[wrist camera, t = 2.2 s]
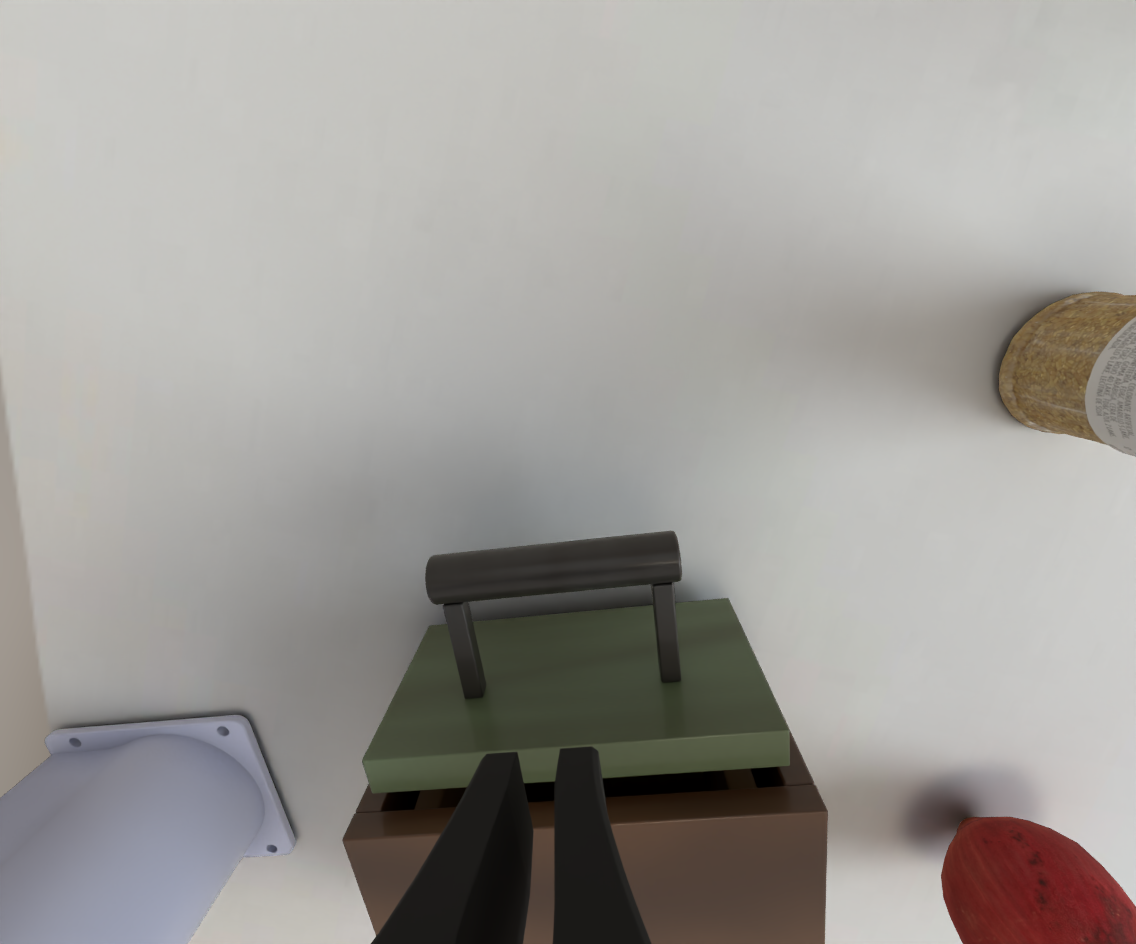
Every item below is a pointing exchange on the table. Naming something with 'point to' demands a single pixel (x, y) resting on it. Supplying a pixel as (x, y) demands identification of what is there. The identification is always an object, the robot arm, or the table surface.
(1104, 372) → the sprinkles bottle
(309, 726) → the table surface
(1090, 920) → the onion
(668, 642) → the drawer
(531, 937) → the cabinet
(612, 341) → the table surface
